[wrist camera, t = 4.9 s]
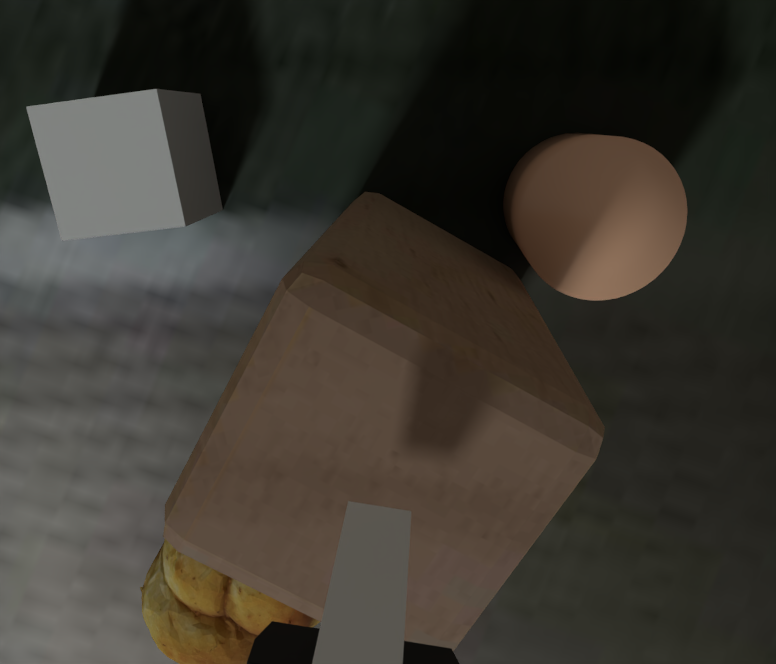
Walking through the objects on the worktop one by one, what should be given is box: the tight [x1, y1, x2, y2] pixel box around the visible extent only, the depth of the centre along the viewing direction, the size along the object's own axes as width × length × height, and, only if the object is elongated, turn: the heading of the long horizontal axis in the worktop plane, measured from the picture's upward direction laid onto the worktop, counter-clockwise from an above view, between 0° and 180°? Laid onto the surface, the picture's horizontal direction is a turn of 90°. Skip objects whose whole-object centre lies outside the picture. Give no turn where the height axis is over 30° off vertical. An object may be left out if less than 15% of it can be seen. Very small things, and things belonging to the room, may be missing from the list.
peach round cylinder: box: [503, 133, 687, 300], centre depth 32 cm, size 7×7×7 cm
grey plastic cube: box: [26, 89, 223, 241], centre depth 33 cm, size 6×6×6 cm
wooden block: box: [163, 192, 605, 651], centre depth 28 cm, size 10×10×20 cm
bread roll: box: [140, 539, 320, 664], centre depth 39 cm, size 13×10×8 cm
